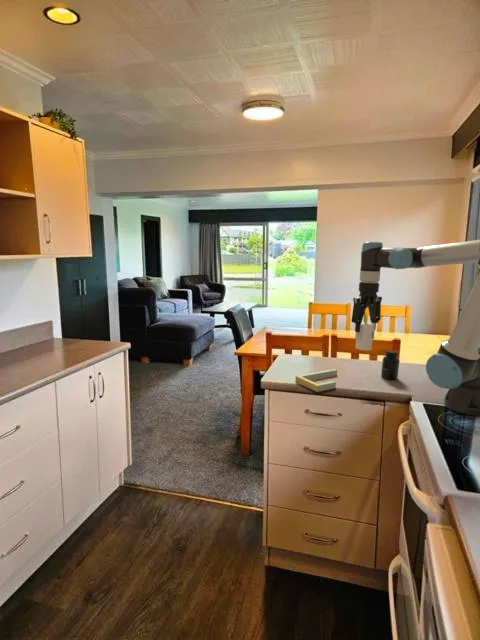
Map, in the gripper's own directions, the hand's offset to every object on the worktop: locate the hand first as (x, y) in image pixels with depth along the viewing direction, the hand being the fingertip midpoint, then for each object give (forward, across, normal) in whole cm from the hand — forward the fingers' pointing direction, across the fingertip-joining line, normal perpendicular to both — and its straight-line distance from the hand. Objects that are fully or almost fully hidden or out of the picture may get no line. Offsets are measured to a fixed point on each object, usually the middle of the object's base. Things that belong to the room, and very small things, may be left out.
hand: (364, 339), depth 163 cm
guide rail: (+19, +11, -8) cm, 24 cm away
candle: (+4, 0, 0) cm, 4 cm away
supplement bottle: (+19, -18, 0) cm, 26 cm away
